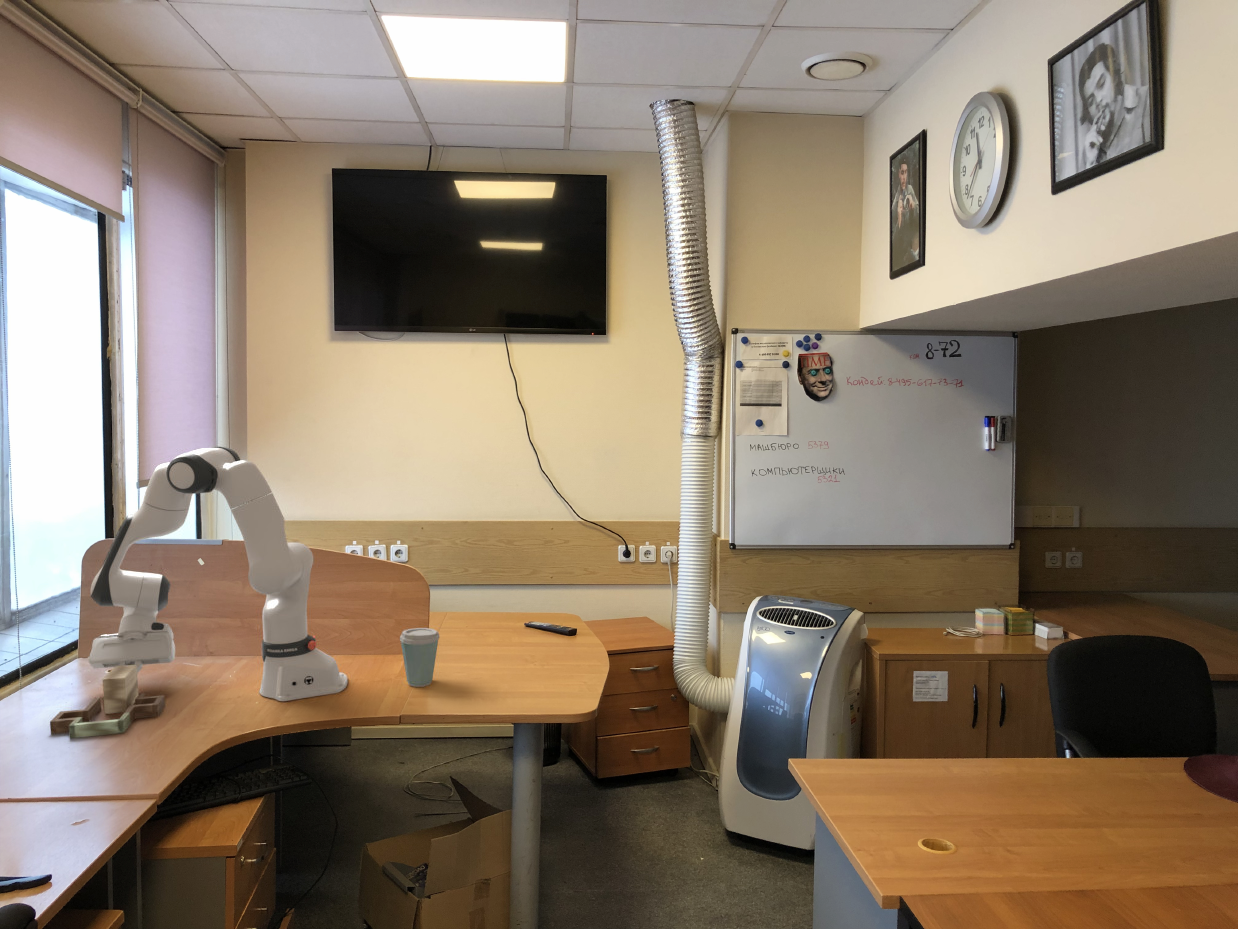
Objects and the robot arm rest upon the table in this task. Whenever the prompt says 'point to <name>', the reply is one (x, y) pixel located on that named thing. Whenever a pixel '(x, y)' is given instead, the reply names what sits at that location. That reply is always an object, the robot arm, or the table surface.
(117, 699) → the beech block
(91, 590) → the robot arm
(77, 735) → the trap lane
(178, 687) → the table surface
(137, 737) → the table surface
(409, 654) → the disposable coffee cup
